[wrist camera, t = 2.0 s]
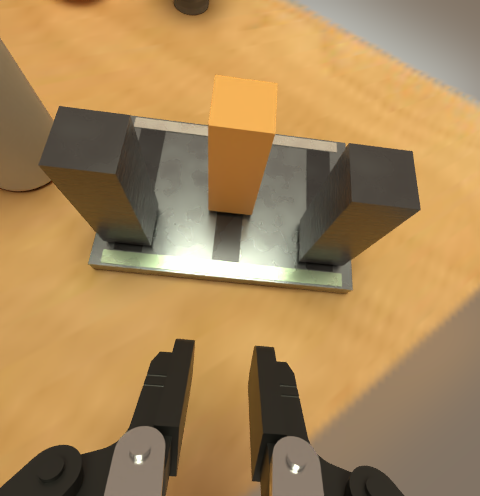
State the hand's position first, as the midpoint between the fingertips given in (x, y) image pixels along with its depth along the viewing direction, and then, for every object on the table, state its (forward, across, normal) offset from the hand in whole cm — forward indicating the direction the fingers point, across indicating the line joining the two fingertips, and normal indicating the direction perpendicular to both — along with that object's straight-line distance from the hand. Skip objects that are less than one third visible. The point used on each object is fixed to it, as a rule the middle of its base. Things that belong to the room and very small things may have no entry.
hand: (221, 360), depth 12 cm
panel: (+21, 0, 0) cm, 21 cm away
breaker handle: (+20, 0, -1) cm, 20 cm away
